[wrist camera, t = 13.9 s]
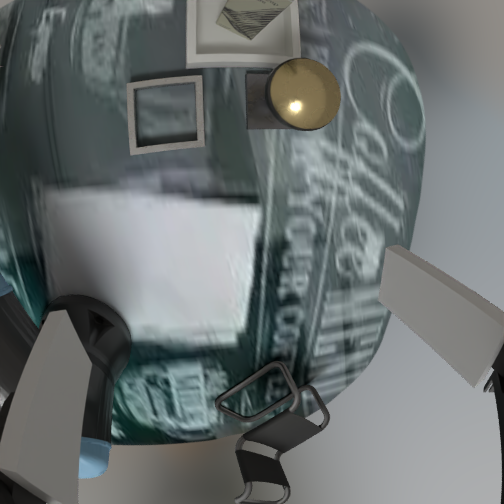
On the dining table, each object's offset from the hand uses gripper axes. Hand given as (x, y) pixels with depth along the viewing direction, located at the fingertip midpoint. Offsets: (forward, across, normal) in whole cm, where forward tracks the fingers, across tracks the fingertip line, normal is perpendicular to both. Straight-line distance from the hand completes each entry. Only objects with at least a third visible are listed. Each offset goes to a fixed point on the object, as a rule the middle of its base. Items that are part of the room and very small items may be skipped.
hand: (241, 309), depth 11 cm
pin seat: (+26, -2, +9) cm, 28 cm away
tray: (+26, +8, +21) cm, 34 cm away
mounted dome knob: (+26, +11, +10) cm, 29 cm away
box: (+25, +8, +21) cm, 34 cm away
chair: (+26, +7, -40) cm, 49 cm away
